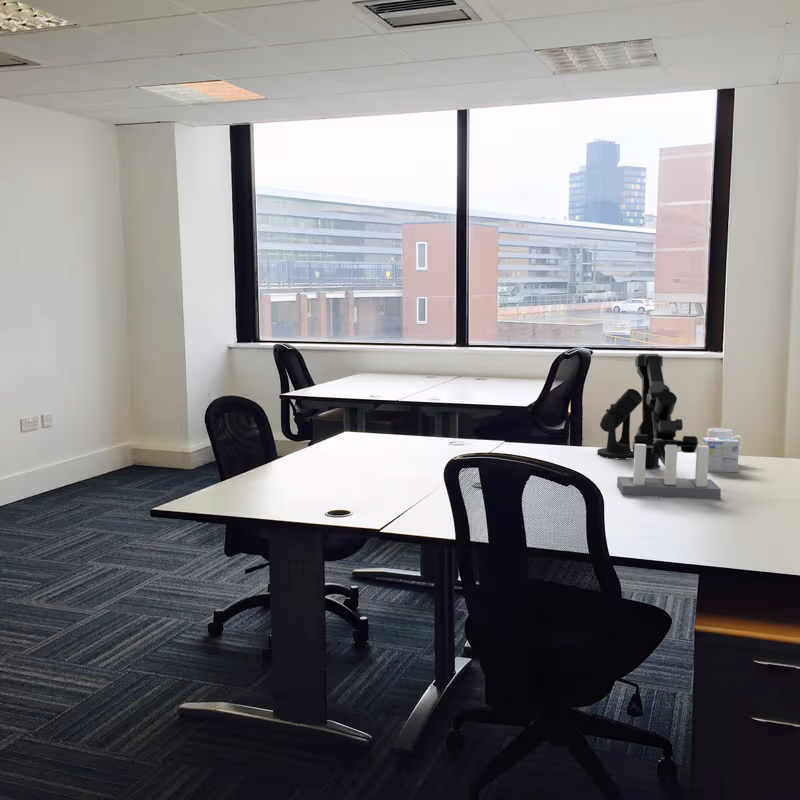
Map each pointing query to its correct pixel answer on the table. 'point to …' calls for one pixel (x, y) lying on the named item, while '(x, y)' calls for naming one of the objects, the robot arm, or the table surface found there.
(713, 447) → the light bulb box
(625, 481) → the three-peg stand
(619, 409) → the microphone
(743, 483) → the table surface
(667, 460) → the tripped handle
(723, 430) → the mug
